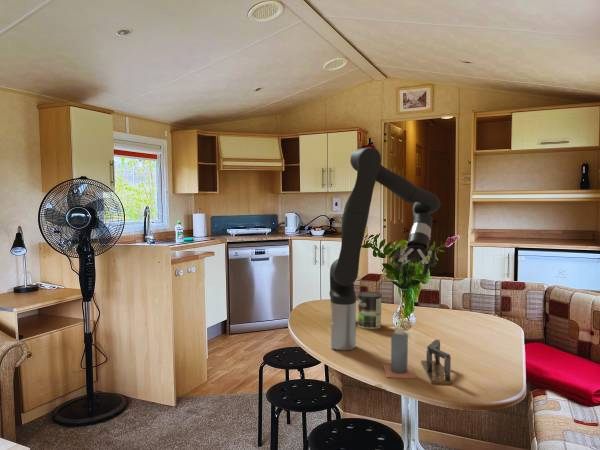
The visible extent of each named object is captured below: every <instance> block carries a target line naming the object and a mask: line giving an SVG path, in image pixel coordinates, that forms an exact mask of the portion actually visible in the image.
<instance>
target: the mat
mask: <svg viewBox="0 0 600 450" xmlns="http://www.w3.org/2000/svg"><path fill="white" fill-rule="evenodd" d="M383 368H384V371H385V375H386V378H387V377H389V378H388V379H390V377H391V379H417V376H416V374H415V372H414V369H413V367H412V365H410V364H407V373H404V374H397V373H394V372H392V371H391V364H383Z"/></svg>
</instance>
